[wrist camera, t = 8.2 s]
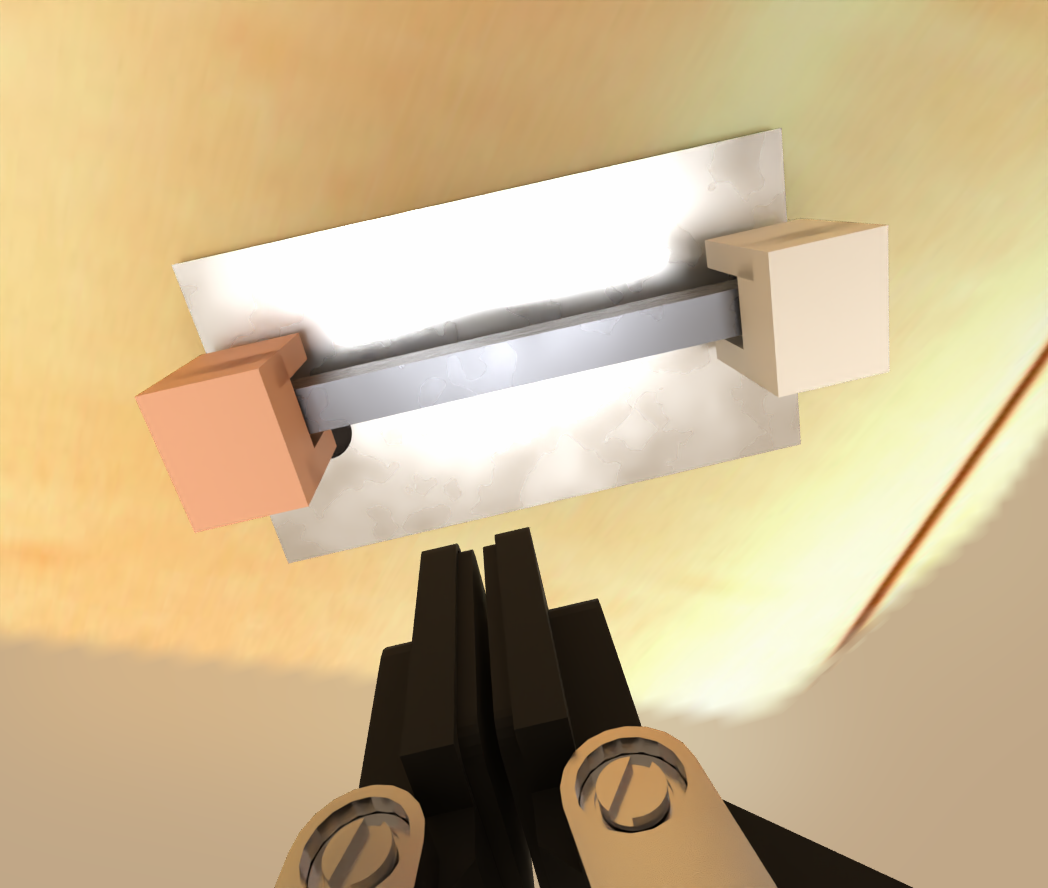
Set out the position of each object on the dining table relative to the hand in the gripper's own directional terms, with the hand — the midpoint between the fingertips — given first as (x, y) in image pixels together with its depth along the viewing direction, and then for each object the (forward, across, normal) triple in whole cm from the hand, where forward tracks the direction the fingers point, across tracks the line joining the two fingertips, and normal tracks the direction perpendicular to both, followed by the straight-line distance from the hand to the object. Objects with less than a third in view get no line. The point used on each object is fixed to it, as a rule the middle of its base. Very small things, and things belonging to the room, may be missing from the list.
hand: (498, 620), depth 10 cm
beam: (+21, -2, 0) cm, 21 cm away
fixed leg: (+20, -12, 0) cm, 23 cm away
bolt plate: (+21, -2, +1) cm, 21 cm away
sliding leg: (+19, +9, 0) cm, 21 cm away
